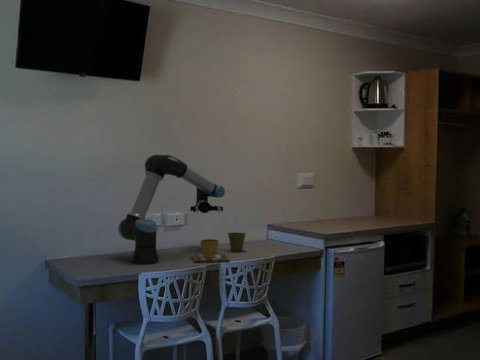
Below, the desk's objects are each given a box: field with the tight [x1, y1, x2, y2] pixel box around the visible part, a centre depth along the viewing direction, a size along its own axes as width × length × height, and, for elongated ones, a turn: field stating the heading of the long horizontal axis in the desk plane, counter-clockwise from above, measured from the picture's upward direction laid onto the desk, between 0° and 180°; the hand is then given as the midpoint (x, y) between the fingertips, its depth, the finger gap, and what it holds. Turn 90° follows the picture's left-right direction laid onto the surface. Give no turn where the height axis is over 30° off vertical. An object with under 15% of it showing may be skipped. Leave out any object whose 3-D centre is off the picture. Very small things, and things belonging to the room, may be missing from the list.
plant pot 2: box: [227, 231, 247, 253], centre depth 327 cm, size 12×12×11 cm
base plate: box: [191, 254, 231, 264], centre depth 296 cm, size 20×16×2 cm
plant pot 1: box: [200, 238, 219, 258], centre depth 296 cm, size 10×10×10 cm
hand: (208, 210), depth 305 cm, fingers open, 13 cm apart
